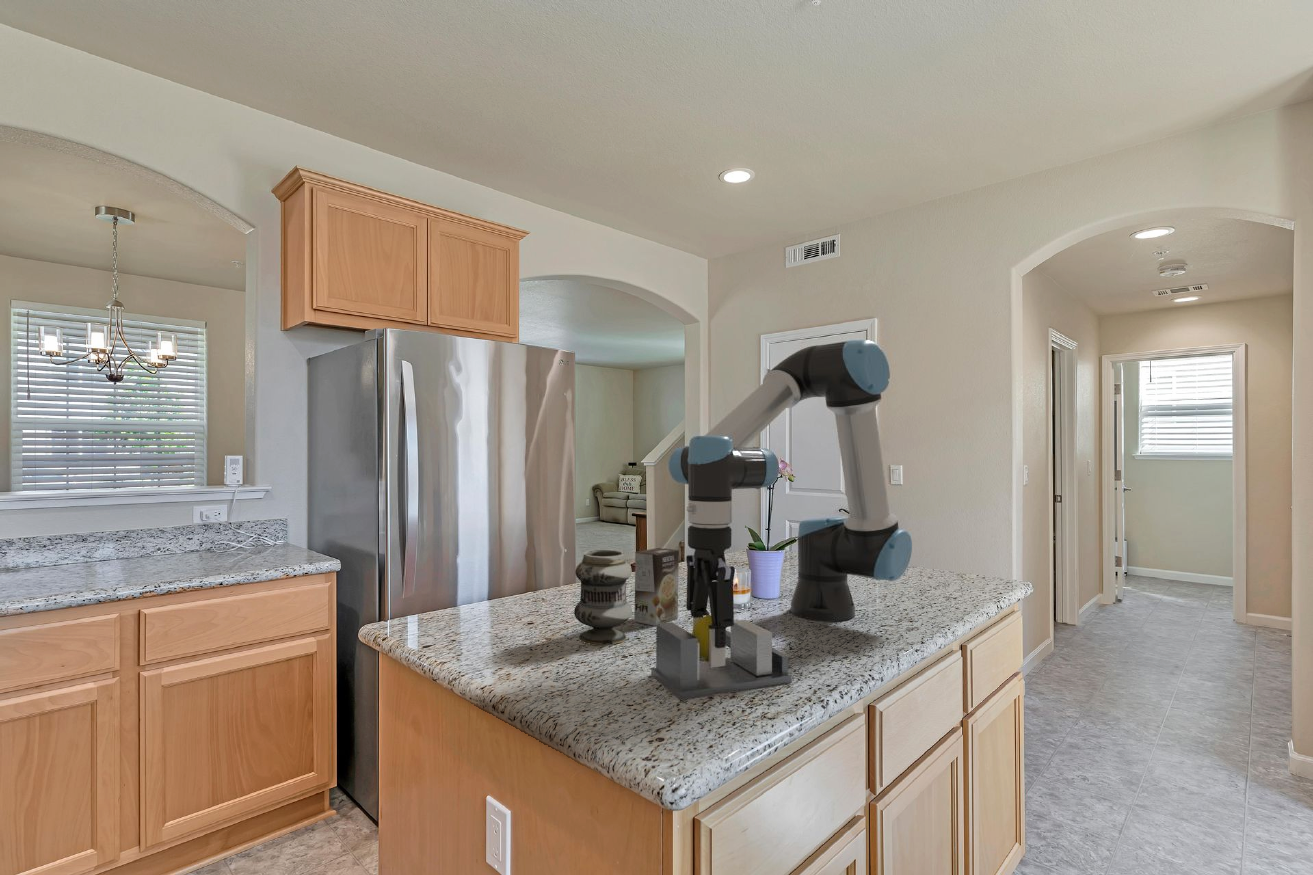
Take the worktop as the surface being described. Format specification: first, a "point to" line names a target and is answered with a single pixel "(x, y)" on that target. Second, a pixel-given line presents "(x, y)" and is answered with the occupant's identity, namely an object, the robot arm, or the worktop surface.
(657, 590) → the coffee box
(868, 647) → the worktop surface
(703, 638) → the lemon
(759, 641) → the free jaw
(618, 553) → the apothecary jar
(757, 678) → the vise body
